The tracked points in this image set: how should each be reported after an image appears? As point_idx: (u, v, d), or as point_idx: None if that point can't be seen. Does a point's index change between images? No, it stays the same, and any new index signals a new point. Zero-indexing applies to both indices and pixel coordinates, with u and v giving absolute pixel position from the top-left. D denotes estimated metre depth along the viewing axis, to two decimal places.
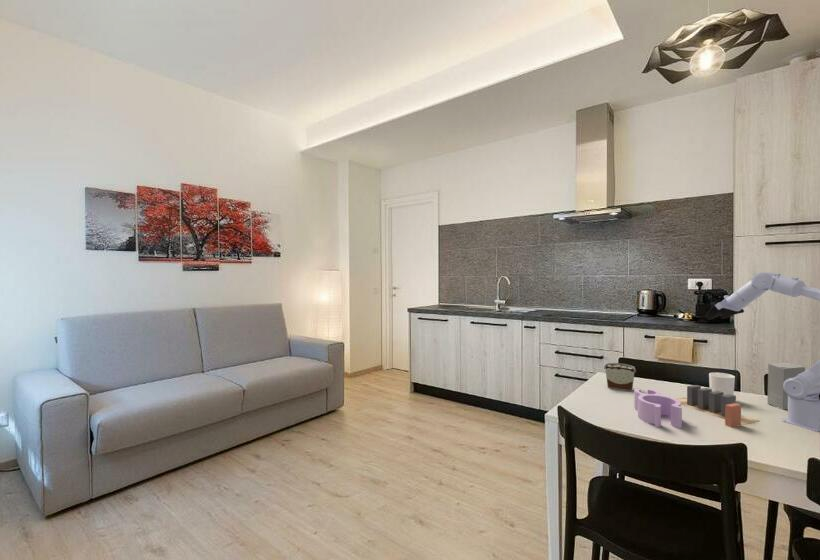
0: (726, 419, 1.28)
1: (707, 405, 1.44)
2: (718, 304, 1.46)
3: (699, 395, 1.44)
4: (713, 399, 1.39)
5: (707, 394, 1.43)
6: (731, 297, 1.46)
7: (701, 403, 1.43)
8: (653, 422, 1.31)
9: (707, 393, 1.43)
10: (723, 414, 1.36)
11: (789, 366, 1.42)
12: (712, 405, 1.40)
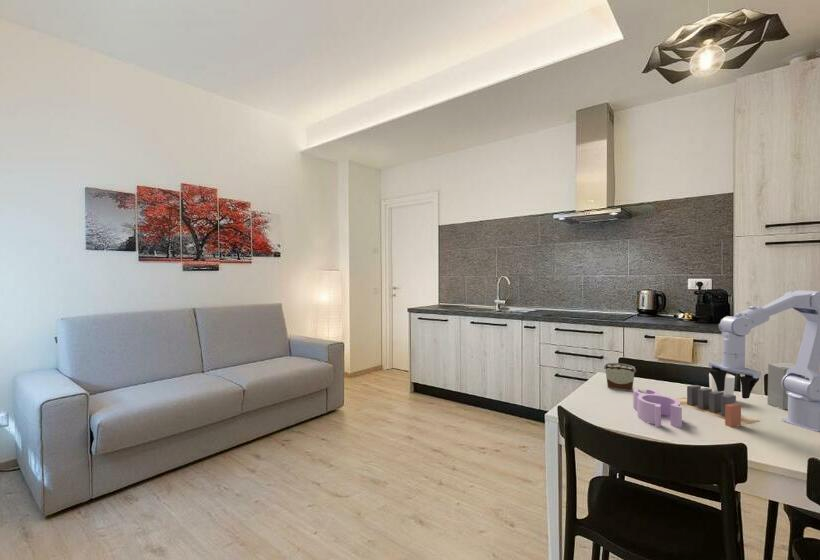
0: (726, 419, 1.28)
1: (707, 405, 1.44)
2: (757, 374, 1.22)
3: (699, 395, 1.44)
4: (713, 399, 1.39)
5: (707, 394, 1.43)
6: (738, 362, 1.26)
7: (701, 403, 1.43)
8: (653, 422, 1.31)
9: (707, 393, 1.43)
10: (723, 414, 1.36)
11: (789, 366, 1.42)
12: (712, 405, 1.40)
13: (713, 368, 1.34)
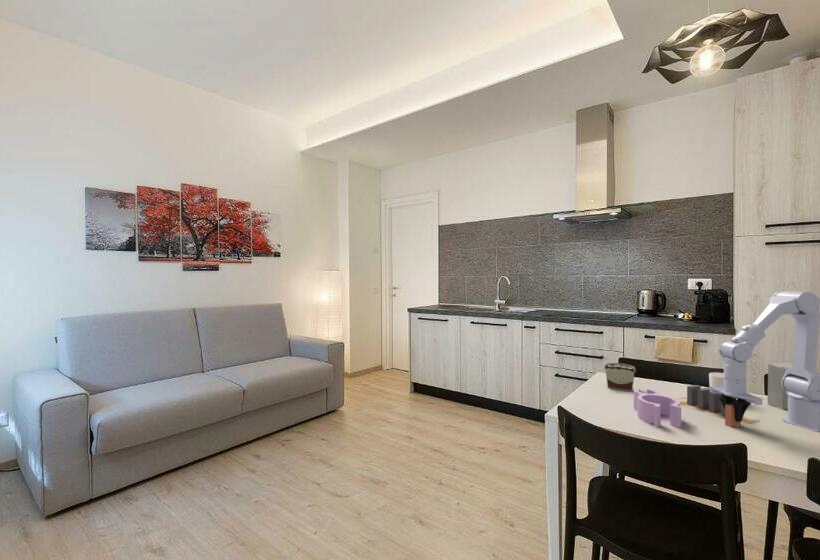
0: (726, 419, 1.28)
1: (707, 405, 1.44)
2: (759, 400, 1.22)
3: (699, 395, 1.44)
4: (713, 399, 1.39)
5: (707, 394, 1.43)
6: (740, 388, 1.26)
7: (701, 403, 1.43)
8: (653, 422, 1.31)
9: (707, 393, 1.43)
10: (723, 414, 1.36)
11: (789, 366, 1.42)
12: (712, 405, 1.40)
13: None
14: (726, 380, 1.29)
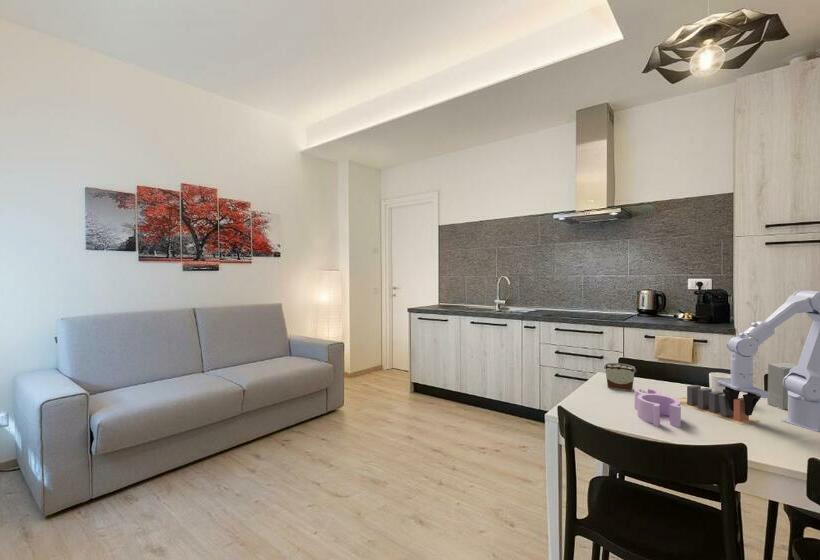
0: (734, 413, 1.33)
1: (707, 405, 1.44)
2: (765, 394, 1.26)
3: (699, 395, 1.44)
4: (713, 399, 1.39)
5: (707, 394, 1.43)
6: (747, 381, 1.30)
7: (701, 403, 1.43)
8: (652, 421, 1.32)
9: (707, 393, 1.43)
10: (723, 414, 1.36)
11: (789, 366, 1.42)
12: (712, 405, 1.40)
13: None
14: (733, 374, 1.32)
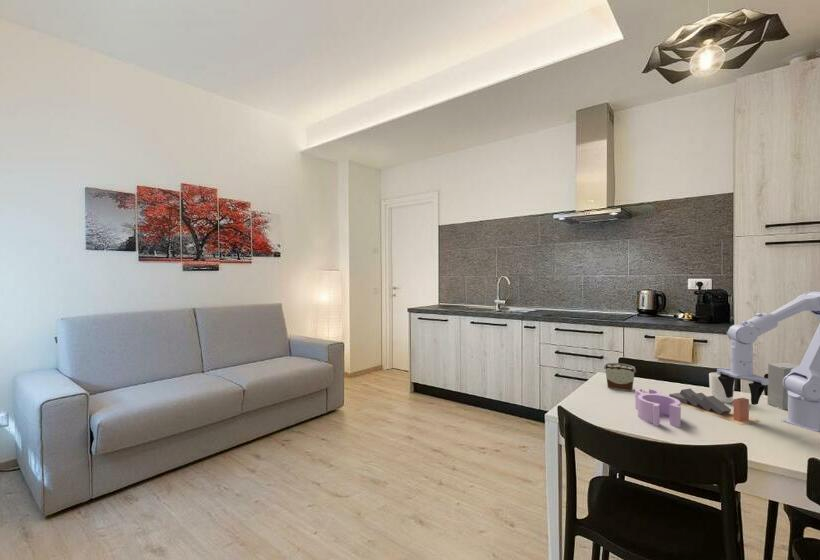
0: (734, 413, 1.33)
1: None
2: (766, 381, 1.26)
3: (684, 396, 1.49)
4: (697, 398, 1.45)
5: (689, 392, 1.50)
6: (747, 369, 1.30)
7: (692, 400, 1.46)
8: (652, 421, 1.32)
9: (689, 391, 1.50)
10: (719, 412, 1.37)
11: (789, 366, 1.42)
12: (702, 403, 1.43)
13: (721, 375, 1.38)
14: (733, 362, 1.32)
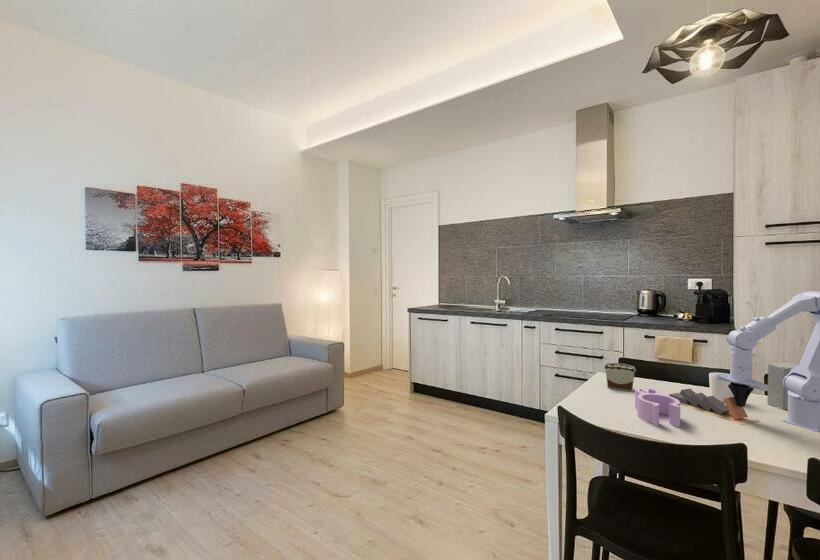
0: (731, 412, 1.34)
1: None
2: (765, 387, 1.26)
3: (684, 396, 1.49)
4: (697, 398, 1.45)
5: (689, 392, 1.50)
6: (746, 375, 1.30)
7: (692, 400, 1.46)
8: (651, 421, 1.32)
9: (689, 391, 1.50)
10: (719, 412, 1.37)
11: (789, 366, 1.42)
12: (702, 403, 1.43)
13: None
14: (732, 367, 1.33)
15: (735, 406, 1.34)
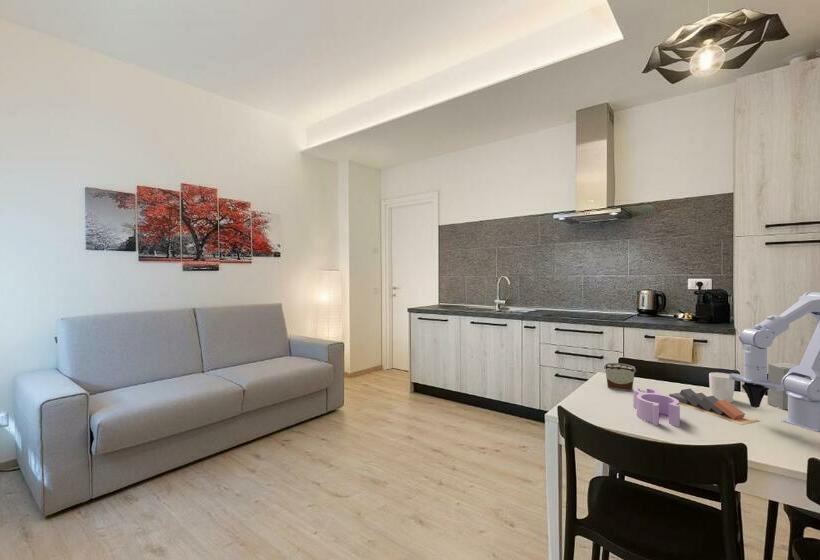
0: (727, 413, 1.35)
1: None
2: (781, 387, 1.22)
3: (684, 396, 1.49)
4: (697, 398, 1.45)
5: (689, 392, 1.50)
6: (761, 374, 1.26)
7: (692, 400, 1.46)
8: (651, 420, 1.32)
9: (689, 391, 1.50)
10: (719, 412, 1.37)
11: (789, 366, 1.42)
12: (702, 403, 1.43)
13: None
14: (746, 367, 1.29)
15: (727, 406, 1.36)
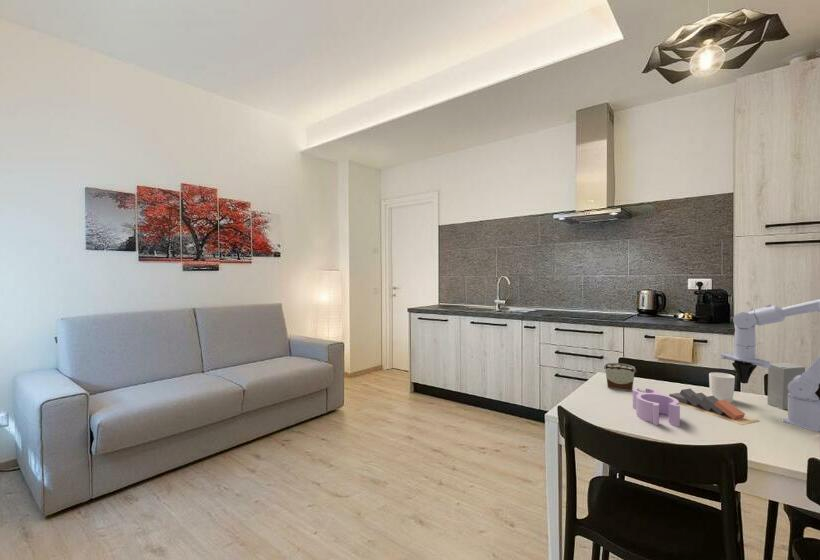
0: (727, 413, 1.35)
1: None
2: (767, 363, 1.33)
3: (684, 396, 1.49)
4: (697, 398, 1.45)
5: (689, 392, 1.50)
6: (749, 353, 1.38)
7: (692, 400, 1.46)
8: (651, 420, 1.33)
9: (689, 391, 1.50)
10: (719, 412, 1.37)
11: (789, 366, 1.42)
12: (702, 403, 1.43)
13: None
14: (737, 346, 1.40)
15: (727, 406, 1.36)
